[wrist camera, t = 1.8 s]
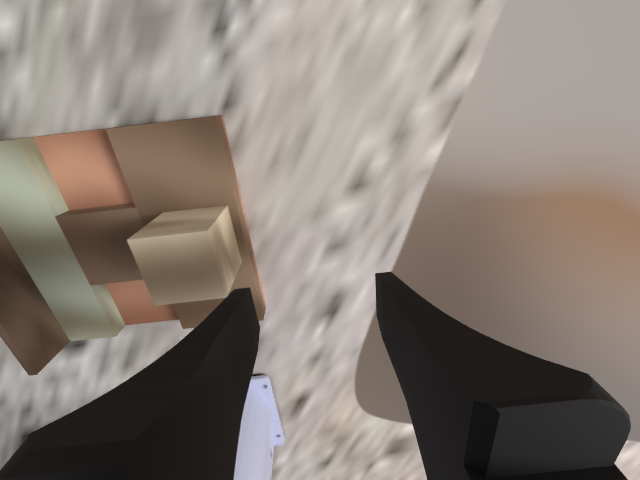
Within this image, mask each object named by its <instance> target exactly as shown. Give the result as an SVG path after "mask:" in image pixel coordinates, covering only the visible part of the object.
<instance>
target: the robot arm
mask: <svg viewBox="0 0 640 480" xmlns="http://www.w3.org/2000/svg"><path fill="white" fill-rule="evenodd" d="M375 277H376V310H377V319H378V323H379V327H380V331H381V335H382V338H383V341H384V343H385V346H386V349H387V352H388V354H389V357H390V359H391V362H392V365H393V367H394V370H395V372H396V375H397V377H398V380H399V383H400V385H401V388H402V390H403V393H404V396H405V399H406V402H407V406H408V409H409V413H410V416H411V420H412V423H413V427H414V431H415V434H416V438H417V442H418V445H419V449H420V453H421V457H422V460H423V464H424V468H425V472H426V476H427V480H627V478H626V477H625V476H624V475H623V473H622V472H621V471H620V470H619V469H618V468H617V466H616V465H615V464H614V462H615V461H616V459H617V457H618V455H619V453H620V451H621V449H622V448H623V446H624V444H625V442H626V440H627V438H628V435H629V432H630V427H631V425H630V418H629V415H628V413H627V412H626V411H625V409H624V408H623V407H622V406H621V405H620V404H619V403H618V402H617V401H616V400H615V399H614V398H613V397H612V396H611V395H610V394H608V393H607V392H606V391H605V390H604V389H603V388H602V387H601V386H600V385H599V384H598V383H597V382H596V381H595V380H594V379H593V378H592V377H591V376H589V375H588V374H586V373H584V372H580V371H577V370H574V369H571V368H568V367H565V366H562V365H559V364H556V363H553V362H550V361H546V360H543V359H541V358H538V357H535V356H533V355H530V354H527V353H525V352H522V351H520V350H517V349H514V348H512V347H510V346H507V345H505V344H503V343H500V342H498V341H496V340H494V339H492V338H490V337H487V336H485V335H483V334H481V333H479V332H477V331H475V330H473V329H471V328H469V327H467V326H466V325H464V324H462V323H461V322H459V321H457V320H455V319H454V318H452V317H450V316H449V315H447V314H445V313H444V312H442V311H441V310H439V309H438V308H436V307H435V306H433V305H432V304H431V303H429V302H428V301H426V300H425V299H424V298H422V297H421V296H420V295H418V294H417V293H416V292H415V291H413V290H412V289H411V288H409V286H407V285H406V284H405V283H404V282H403V281H401V280H400V279H399V278H398V277H397V276H395V275H394V274H393V273H392V272H385V273H376V274H375ZM259 333H260V326H259V322H258V318H257V314H256V310H255V306H254V301H253V297H252V293H251V289H250V287H248V288H239V289H234V290H233V291H232V292H231V293H230V294H229V295H228V296H227V297H226V298H225V299H224V300H223V301H222V302H221V303H220V304H219V305H218V306H217V307H216V308H215V309H214V310H213V311H212V312H211V313H210V314H209V315H208V316H207V317H206V318H205V319H204V320H203V321H202V322H201V323H200V324H199V325H198V326H197V327H196V328H195V329H193V330H192V331H191V332H190V333H189V334H188V335H187V336H186V337H185V338H184V339H182V340H181V341H180V342H179V343H178V344H177V345H175V346H174V347H173V348H172V349H170V350H169V351H168V352H166V353H165V354H164V355H163V356H161V357H160V358H159V359H157V360H156V361H155V362H153V363H152V364H150V365H149V366H147V367H146V368H144V369H143V370H142V371H140V372H139V373H137V374H136V375H134V376H133V377H131V378H130V379H128V380H127V381H125V382H124V383H122V384H120V385H119V386H117V387H116V388H114V389H112V390H111V391H109V392H107V393H106V394H104V395H102V396H100V397H99V398H97V399H95V400H94V401H92V402H90V403H88V404H86V405H85V406H83V407H81V408H79V409H77V410H75V411H73V412H71V413H69V414H68V415H66V416H64V417H62V418H60V419H58V420H56V421H54V422H52V423H50V424H48V425H46V426H44V427H42V428H40V429H38V430H36V431H34V432H32V433H31V434H30V435H29V437H28V438H27V439H26V440H25V441H24V443H23V444H22V445H21V446H20V447H19V449H18V450H17V451H16V452H15V453H14V455H13V456H12V457H11V458H10V459H9V461H8V462H7V463H6V464H5V465H4V467H3V468H2V469H1V470H0V480H271V475H272V465H273V455H274V446H276V445H282V444H284V439H285V438H284V434H283V430H282V426H281V422H280V418H279V414H278V410H277V406H276V402H275V398H274V394H273V390H272V386H271V382H270V378H269V377H268V376H266V375H261V376H252V373H253V368H254V364H255V360H256V356H257V351H258V343H259Z"/></svg>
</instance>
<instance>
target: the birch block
mask: <svg viewBox="0 0 640 480" xmlns="http://www.w3.org/2000/svg"><path fill="white" fill-rule="evenodd" d="M127 242H128V244H129V246H130V249H131V251H132V253H133V256H134V258H135V260H136V263H137V265H138V268H139V270H140V272H141V275H142V277H143V279H144V282H145V284H146V287H147V289H148V291H149V294H150V296H151V298H152V301H153V303H154V306H157V305H166V304H175V303H184V302H193V301H202V300H211V299H220V298H226V297H227V296H228V294H229V292H230V289H231V287H232V284H233V282H234V280H235V277H236V275H237V272H238V270H239V268H240V265H241V263H242V261H241V257H240V253H239V249H238V245H237V241H236V237H235V233H234V229H233V225H232V221H231V217H230V213H229V209H228V205H225V206H216V207H207V208H198V209H190V210H181V211H172V212H163V213H162V214H160V215H159V216H158V217H156V218H155V219H154V220H152V221H151V222H150V223H148V224H147V225H146V226H144V227H143V228H142V229H141V230H139V231H138V232H137V233H135V234H134V235H133V236H131V237H130V238H129V239H127Z"/></svg>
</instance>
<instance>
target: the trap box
mask: <svg viewBox="0 0 640 480" xmlns="http://www.w3.org/2000/svg"><path fill="white" fill-rule="evenodd" d="M225 205H228V209H229V213H230V217H231V221H232V225H233V229H234V233H235V237H236V241H237V245H238V249H239V253H240V257H241V261H242V263H241V265H240V268H239V270H238V272H237V275H236V277H235V280H234V282H233V284H232V287H231V289H230V292H229V294H230V293H231V292H232V291H233V290H234V289H239V288H248V287H250V289H251V293H252V297H253V301H254V306H255V310H256V314H257V318H258V321H260V320H263V318H264V314H265V309H266V306H265V302H264V297H263V293H262V289H261V284H260V280H259V275H258V271H257V266H256V262H255V258H254V253H253V249H252V244H251V240H250V236H249V231H248V227H247V222H246V218H245V213H244V209H243V205H242V200H241V196H240V191H239V187H238V182H237V178H236V174H235V169H234V165H233V160H232V156H231V152H230V147H229V143H228V138H227V134H226V129H225V125H224V121H223V116H222V115H219V116H211V117H202V118H193V119H185V120H176V121H168V122H159V123H150V124H142V125H133V126H125V127H116V128H108V129H99V130H90V131H82V132H73V133H65V134H56V135H48V136H39V137H30V138H22V139H13V140H5V141H0V337H1V338H2V339H3V341H4V342H5V343H6V345H7V346H8V347H9V349H10V350H11V352H12V353H13V354H14V356H15V357H16V358H17V360H18V361H19V362H20V364H21V365H22V367H23V368H24V369H25V371H26V372H27V373H28V375H37V374H38V373H39V372H40V371H41V370H42V369H43V368H44V367H45V366H46V365H47V364H48V363H49V362H50V361H51V360H52V359H53V358H54V357H55V356H56V355H57V354H58V353H59V352H60V351H61V350H62V349H63V348H64V347H65V346H66V345H67V344H68V343H69V342H70V341H76V340H85V339H94V338H103V337H113V336H117V335H118V334H119V332H120V331H121V330H122V329H123V327H124V326H125V325H131V324H140V323H149V322H159V321H168V320H177V319H179V320H180V323H181V325H182V328H183V329H186V328H196V327H197V326H198V325H199V324H200V323H201V322H202V321H203V320H204V319H205V318H206V317H207V316H208V315H209V314H210V313H211V312H212V311H213V310H214V309H215V308H216V307H217V306H218V305H219V304H220V303H221V302H222V301H223V300H224V299H225V298H220V299H211V300H202V301H193V302H184V303H175V304H166V305H157V306H154V303H153V301H152V298H151V296H150V294H149V291H148V289H147V287H146V284H145V282H144V279H143V277H142V275H141V272H140V270H139V268H138V265H137V263H136V260H135V258H134V256H133V253H132V251H131V249H130V246H129V244H128V242H127V239H129V238H130V237H131V236H133V235H134V234H135V233H137V232H138V231H139V230H141V229H142V228H143V227H144V226H146V225H147V224H148V223H150V222H151V221H152V220H154V219H155V218H156V217H158V216H159V215H160V214H162V213H163V212H172V211H181V210H190V209H198V208H207V207H216V206H225ZM229 294H228V295H229Z"/></svg>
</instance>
